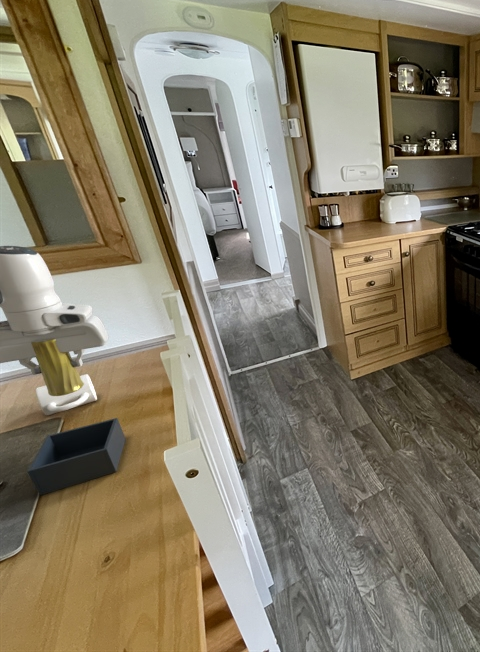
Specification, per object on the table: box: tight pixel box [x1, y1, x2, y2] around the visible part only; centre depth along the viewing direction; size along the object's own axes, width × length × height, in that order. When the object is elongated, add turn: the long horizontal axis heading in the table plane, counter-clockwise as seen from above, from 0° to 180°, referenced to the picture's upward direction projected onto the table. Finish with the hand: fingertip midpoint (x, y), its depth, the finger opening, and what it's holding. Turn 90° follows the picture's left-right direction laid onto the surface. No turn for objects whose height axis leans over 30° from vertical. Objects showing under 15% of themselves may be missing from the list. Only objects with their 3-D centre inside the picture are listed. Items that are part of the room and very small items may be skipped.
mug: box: [35, 373, 98, 416], centre depth 103 cm, size 12×10×8 cm
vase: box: [31, 339, 84, 396], centre depth 90 cm, size 6×6×14 cm
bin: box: [26, 417, 126, 496], centre depth 85 cm, size 12×12×7 cm
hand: (59, 369), depth 90 cm, fingers closed on vase, 5 cm apart
